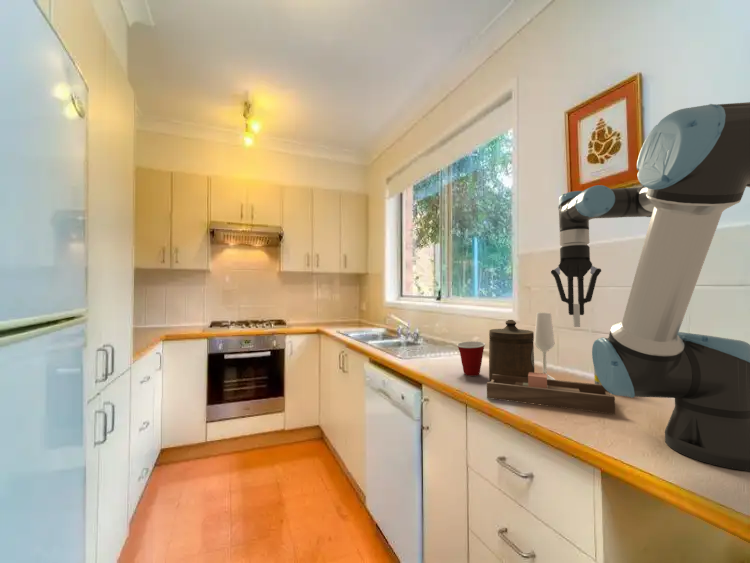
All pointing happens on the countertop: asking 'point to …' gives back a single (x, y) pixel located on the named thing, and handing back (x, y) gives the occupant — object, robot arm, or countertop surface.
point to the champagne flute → (544, 336)
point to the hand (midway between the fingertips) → (576, 326)
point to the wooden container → (511, 351)
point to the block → (537, 380)
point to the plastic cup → (471, 356)
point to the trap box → (552, 393)
